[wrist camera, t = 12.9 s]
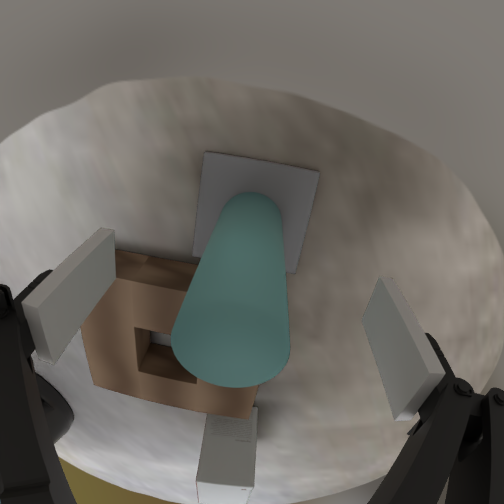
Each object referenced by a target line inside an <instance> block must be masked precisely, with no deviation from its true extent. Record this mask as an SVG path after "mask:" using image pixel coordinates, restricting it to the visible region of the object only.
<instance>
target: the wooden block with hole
mask: <svg viewBox="0 0 504 504" xmlns="http://www.w3.org/2000/svg"><path fill="white" fill-rule="evenodd" d="M115 267H116V279H115V280H114V282H113V283H112V284H111V286H110V287H109V288H108V290H107V291H106V292H105V294H104V295H103V296H102V298H101V299H100V300H99V302H98V303H97V304H96V306H95V307H94V308H93V310H92V311H91V313H90V314H89V315H88V317H87V318H86V320H85V321H84V322H83V324H82V325H81V327H80V328H81V333H82V338H83V343H84V347H85V351H86V356H87V360H88V364H89V368H90V372H91V376H92V380H93V383H94V385H96V386H99V387H102V388H105V389H108V390H112V391H115V392H119V393H122V394H126V395H129V396H133V397H136V398H140V399H144V400H148V401H152V402H156V403H160V404H164V405H169V406H173V407H178V408H183V409H187V410H192V411H198V412H203V413H208V414H214V415H220V416H226V417H233V418H240V419H247V420H249V417H250V414H251V410H252V407H253V404H254V400H255V397H256V394H257V390H258V387H259V384H258V385H255V386H250V387H242V388H232V387H223V386H218V385H214V384H211V383H208V382H206V381H203V380H201V379H199V378H197V377H196V376H194V375H193V374H191V373H190V372H189V371H187V370H186V369H185V368H184V367H183V366H182V365H181V364H180V362H179V361H178V360H177V358H176V356H175V354H174V352H173V350H172V348H171V347H167V346H162V345H158V344H153V343H150V330H151V331H155V332H160V333H164V334H169V335H171V332H172V329H173V326H174V323H175V321H176V318H177V316H178V313H179V311H180V308H181V306H182V303H183V301H184V298H185V296H186V294H187V291H188V289H189V286H190V284H191V281H192V279H193V277H194V274H195V272H196V269H197V267H198V265H196V264H190V263H185V262H179V261H174V260H169V259H163V258H158V257H152V256H147V255H142V254H137V253H131V252H126V251H121V250H116V249H115Z"/></svg>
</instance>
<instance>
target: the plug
mask: <svg viewBox="0 0 504 504" xmlns="http://www.w3.org/2000/svg"><path fill="white" fill-rule="evenodd" d="M171 346H172V350H173V352H174V354H175V356H176V358H177V360H178V361H179V362H180V364H181V365H182V366H183V367H184V368H185V369H186V370H187V371H189V372H190V373H191V374H193V375H194V376H196V377H197V378H199V379H201V380H203V381H206V382H208V383H211V384H214V385H218V386H223V387H232V388H242V387H250V386H255V385H258V384H261V383H264V382H266V381H268V380H270V379H272V378H273V377H275V376H276V375H277V374H278V373H279V372H280V371H281V370H282V369H283V368H284V366H285V365H286V363H287V361H288V359H289V355H290V335H289V317H288V300H287V285H286V270H285V256H284V243H283V230H282V218H281V214H280V211H279V209H278V207H277V205H276V204H275V203H274V202H273V201H272V200H271V199H270V198H268V197H267V196H265V195H263V194H260V193H256V192H245V193H241V194H238V195H236V196H234V197H232V198H231V199H230V200H229V201H228V202H227V203H226V204H225V206H224V207H223V209H222V212H221V214H220V216H219V218H218V221H217V223H216V225H215V228H214V230H213V232H212V234H211V237H210V239H209V241H208V244H207V246H206V248H205V251H204V253H203V255H202V258H201V260H200V262H199V265H198V267H197V269H196V272H195V274H194V277H193V279H192V281H191V284H190V286H189V289H188V291H187V294H186V296H185V298H184V301H183V303H182V306H181V308H180V311H179V313H178V316H177V318H176V321H175V323H174V326H173V329H172V332H171Z"/></svg>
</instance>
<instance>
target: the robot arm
mask: <svg viewBox="0 0 504 504" xmlns="http://www.w3.org/2000/svg"><path fill="white" fill-rule="evenodd" d="M115 279H116V267H115V235H114V230H111V229H105V228H100V229H99V230H98V231H97V232H96V233H94V234H93V235H92V236H91V237H90V238H89V239H87V240H86V241H85V242H84V243H83V244H82V245H81V246H80V247H78V248H77V249H76V250H75V251H74V252H73V253H72V254H71V255H70V256H69V257H67V258H66V259H65V260H64V261H63V262H62V263H61V264H60V265H59V266H58V267H57V268H56V269H55V270H50V269H49V270H47V271H45V272H43V273H41V274H40V275H39V276H37V277H36V278H35V279H34V280H33V282H31V283H30V284H29V285H28V287H26V288H25V289H24V290H23V291H22V292H21V293H20V294H19V295H18V296H17V297H16V298H15V299H14V300H13V298H12V294H11V291H10V288H9V287H8V286H7V285H3V284H0V504H77V503H76V501H75V499H74V496H73V494H72V492H71V489H70V487H69V484H68V482H67V480H66V477H65V474H64V472H63V469H62V467H61V464H60V461H59V458H58V455H57V453H56V450H55V447H54V444H55V443H56V442H57V441H58V440H59V439H60V438H61V437H62V436H63V435H65V434H66V433H67V432H68V430H69V428H70V426H71V424H72V422H73V413H72V411H71V409H70V407H69V406H68V404H67V403H66V401H65V400H64V399H63V398H62V396H61V395H60V394H59V393H58V392H57V391H56V390H55V389H54V388H53V387H52V386H51V385H49V384H48V383H47V382H46V381H45V380H44V379H42V378H41V377H40V376H38V375H37V374H36V373H35V370H34V365H33V360H32V358H31V354H32V352H33V351H34V350H35V349H36V352H37V355H38V358H39V360H42V361H44V362H47V363H50V364H52V365H55V363H56V362H57V360H58V359H59V357H60V356H61V354H62V353H63V351H64V350H65V348H66V347H67V345H68V344H69V342H70V341H71V340H72V338H73V337H74V335H75V334H76V332H77V331H78V329H79V328H80V327H81V325H82V324H83V322H84V321H85V320H86V318H87V317H88V315H89V314H90V313H91V311H92V310H93V308H94V307H95V306H96V304H97V303H98V302H99V300H100V299H101V298H102V296H103V295H104V294H105V292H106V291H107V290H108V288H109V287H110V286H111V284H112V283H113V282H114V280H115ZM362 323H363V326H364V328H365V331H366V334H367V337H368V340H369V343H370V345H371V348H372V351H373V354H374V357H375V360H376V363H377V366H378V369H379V372H380V375H381V378H382V381H383V385H384V388H385V391H386V394H387V397H388V401H389V404H390V407H391V411H392V414H393V417H394V421H406V420H411V419H412V418H413V416H414V415H415V414H416V413H417V411H418V412H419V415H420V419H419V421H418V422H417V423H416V424H415V425H414V426H413V428H412V429H411V430H410V431H409V432H408V433H407V434H408V435H410V436H409V438H408V440H407V441H406V443H405V445H404V447H403V449H402V450H401V452H400V454H399V455H398V457H397V459H396V461H395V462H394V464H393V466H392V467H391V469H390V470H389V472H388V474H387V475H386V477H385V478H384V480H383V481H382V483H381V484H380V486H379V488H378V489H377V490H376V492H375V494H374V495H373V496H372V498H371V499H370V501H369V502H368V503H367V504H437V502H438V500H439V498H440V495H441V493H442V491H443V489H444V486H445V484H446V482H447V479H448V477H449V482H448V489H447V495H446V500H445V504H504V391H503V390H501V389H499V388H491V389H490V391H489V392H488V393H487V394H486V395H485V396H484V395H481V394H477V393H474V390H473V388H472V387H471V385H470V384H469V383H468V382H466V381H465V380H463V379H461V378H456V377H455V375H454V373H453V371H452V369H451V367H450V365H449V364H448V362H447V360H446V358H445V357H444V354H443V352H442V351H441V350H440V347H439V345H438V343H437V342H436V340H435V339H434V338H433V337H432V336H431V335H430V334H429V333H424V331H423V329H422V327H421V326H420V324H419V322H418V320H417V319H416V317H415V315H414V313H413V312H412V310H411V308H410V306H409V305H408V303H407V301H406V300H405V298H404V296H403V294H402V293H401V291H400V289H399V288H398V286H397V284H396V283H395V281H394V280H393V278H388V277H382V276H379V279H378V282H377V284H376V287H375V289H374V292H373V294H372V297H371V299H370V301H369V304H368V306H367V309H366V311H365V313H364V316H363V318H362ZM449 474H450V475H449Z"/></svg>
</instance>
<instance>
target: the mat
mask: <svg viewBox="0 0 504 504" xmlns="http://www.w3.org/2000/svg"><path fill="white" fill-rule="evenodd" d="M319 176H320V172H319V171H315V170H310V169H305V168H301V167H296V166H291V165H286V164H280V163H275V162H270V161H264V160H258V159H253V158H247V157H241V156H235V155H228V154H222V153H215V152H208V151H206V152H204V158H203V165H202V173H201V181H200V189H199V198H198V206H197V215H196V225H195V234H194V244H193V255H192V256H193V257H199V258H202V255H203V253H204V251H205V248H206V246H207V244H208V241H209V239H210V237H211V234H212V232H213V230H214V228H215V225H216V223H217V221H218V218H219V216H220V214H221V212H222V209H223V207H224V206H225V204H226V203H227V202H228V201H229V200H230V199H231V198H232V197H234V196H236V195H238V194H241V193H245V192H256V193H260V194H263V195H265V196H267V197H268V198H270V199H271V200H272V201H273V202H274V203H275V204H276V205H277V207H278V209H279V211H280V214H281V218H282V230H283V243H284V256H285V270H286V273H292V274H295V273H296V269H297V265H298V261H299V257H300V254H301V250H302V246H303V242H304V238H305V234H306V230H307V226H308V222H309V218H310V214H311V210H312V206H313V202H314V197H315V193H316V189H317V185H318V180H319Z"/></svg>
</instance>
